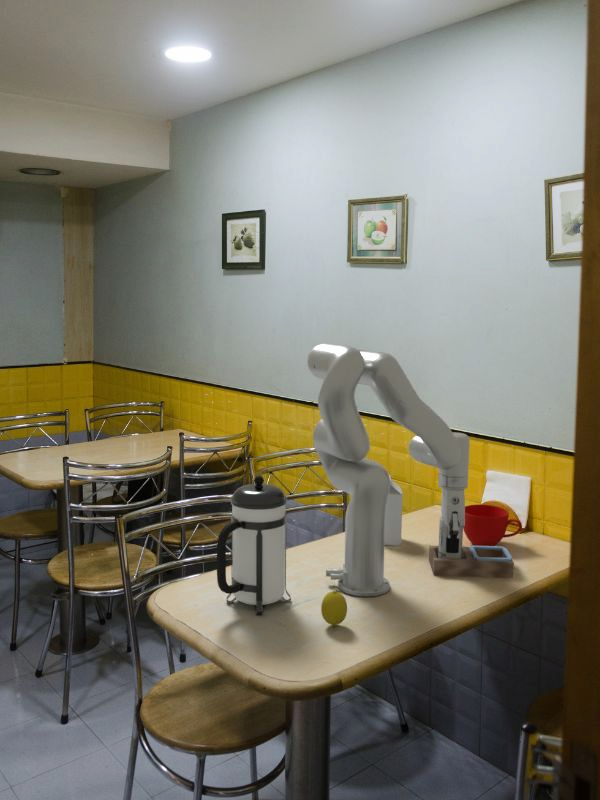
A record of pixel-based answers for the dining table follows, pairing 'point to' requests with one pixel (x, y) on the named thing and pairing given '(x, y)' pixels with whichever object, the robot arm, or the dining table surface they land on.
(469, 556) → the block
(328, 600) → the lemon
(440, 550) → the energy drink can
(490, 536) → the ceramic cup
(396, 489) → the milk carton
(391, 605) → the dining table surface
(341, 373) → the robot arm
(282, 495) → the coffee press
